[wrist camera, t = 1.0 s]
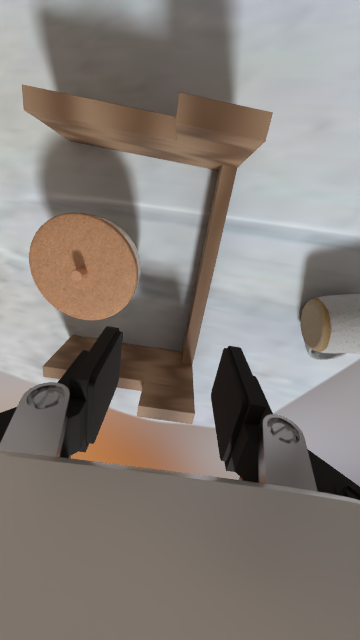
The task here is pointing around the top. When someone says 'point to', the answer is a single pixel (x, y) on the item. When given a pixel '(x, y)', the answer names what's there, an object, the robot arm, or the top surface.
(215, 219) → the wooden rack
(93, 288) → the lidded jar
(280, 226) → the top surface
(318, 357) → the white mug
